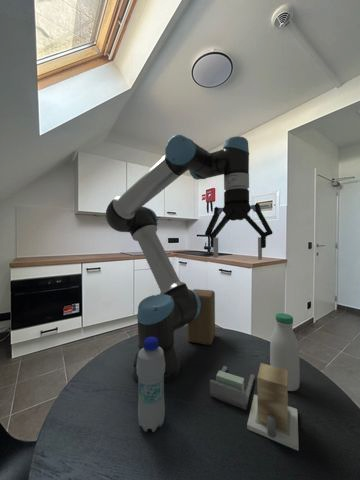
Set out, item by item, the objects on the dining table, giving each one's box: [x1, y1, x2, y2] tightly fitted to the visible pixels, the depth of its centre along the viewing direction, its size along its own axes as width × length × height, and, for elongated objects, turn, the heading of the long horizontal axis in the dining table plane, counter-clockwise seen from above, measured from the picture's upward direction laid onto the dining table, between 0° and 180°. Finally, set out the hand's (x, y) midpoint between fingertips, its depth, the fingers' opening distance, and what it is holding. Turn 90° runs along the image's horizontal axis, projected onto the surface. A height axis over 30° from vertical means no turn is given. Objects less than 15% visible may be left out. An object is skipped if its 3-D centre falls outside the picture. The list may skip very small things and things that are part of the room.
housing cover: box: [215, 370, 245, 391], centre depth 56 cm, size 7×3×5 cm, turn 61°
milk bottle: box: [269, 312, 301, 392], centre depth 60 cm, size 8×8×20 cm
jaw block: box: [256, 362, 289, 432], centre depth 47 cm, size 6×6×10 cm
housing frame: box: [209, 365, 255, 411], centre depth 59 cm, size 10×13×4 cm
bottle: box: [136, 337, 166, 433], centre depth 47 cm, size 7×7×20 cm
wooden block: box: [187, 288, 216, 346], centre depth 87 cm, size 10×10×20 cm
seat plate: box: [246, 394, 299, 452], centre depth 48 cm, size 10×11×4 cm
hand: (236, 258), depth 63 cm, fingers open, 13 cm apart
